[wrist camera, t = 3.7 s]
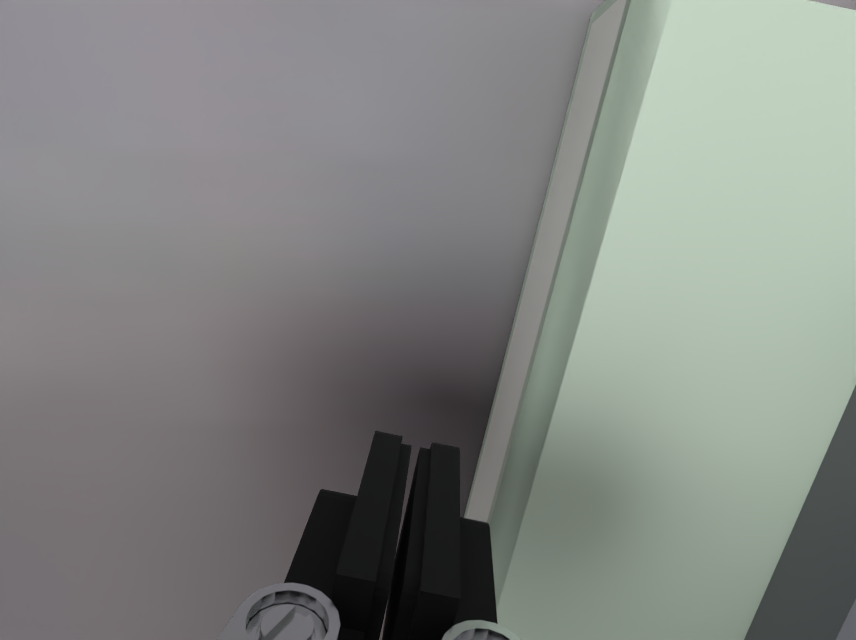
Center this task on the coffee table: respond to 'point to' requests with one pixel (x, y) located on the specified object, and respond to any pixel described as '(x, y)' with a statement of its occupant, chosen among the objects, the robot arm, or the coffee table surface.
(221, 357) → the coffee table surface
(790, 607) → the block
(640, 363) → the book
